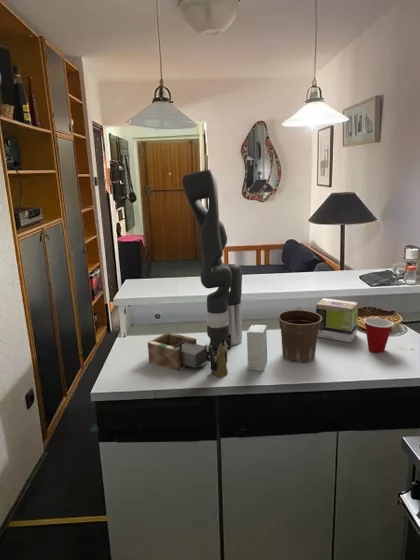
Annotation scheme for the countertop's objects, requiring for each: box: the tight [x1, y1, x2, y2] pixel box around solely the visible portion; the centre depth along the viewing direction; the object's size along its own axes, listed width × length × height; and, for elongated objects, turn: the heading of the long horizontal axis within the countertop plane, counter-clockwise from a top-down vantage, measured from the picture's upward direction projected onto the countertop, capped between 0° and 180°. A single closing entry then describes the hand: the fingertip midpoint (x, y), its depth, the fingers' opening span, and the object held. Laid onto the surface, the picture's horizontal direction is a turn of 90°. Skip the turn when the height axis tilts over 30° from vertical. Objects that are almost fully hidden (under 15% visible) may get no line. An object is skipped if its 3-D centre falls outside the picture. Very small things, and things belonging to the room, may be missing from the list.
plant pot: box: [277, 309, 322, 364], centre depth 162 cm, size 16×16×16 cm
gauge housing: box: [147, 331, 197, 371], centre depth 163 cm, size 14×12×8 cm
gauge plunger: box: [174, 341, 207, 369], centre depth 157 cm, size 10×10×8 cm
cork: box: [210, 345, 229, 378], centre depth 152 cm, size 6×6×11 cm
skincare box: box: [246, 324, 268, 372], centre depth 156 cm, size 8×6×15 cm
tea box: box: [315, 297, 359, 343], centre depth 180 cm, size 15×10×15 cm, turn 58°
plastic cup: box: [363, 317, 394, 354], centre depth 166 cm, size 11×11×12 cm
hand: (219, 366), depth 152 cm, fingers open, 6 cm apart
